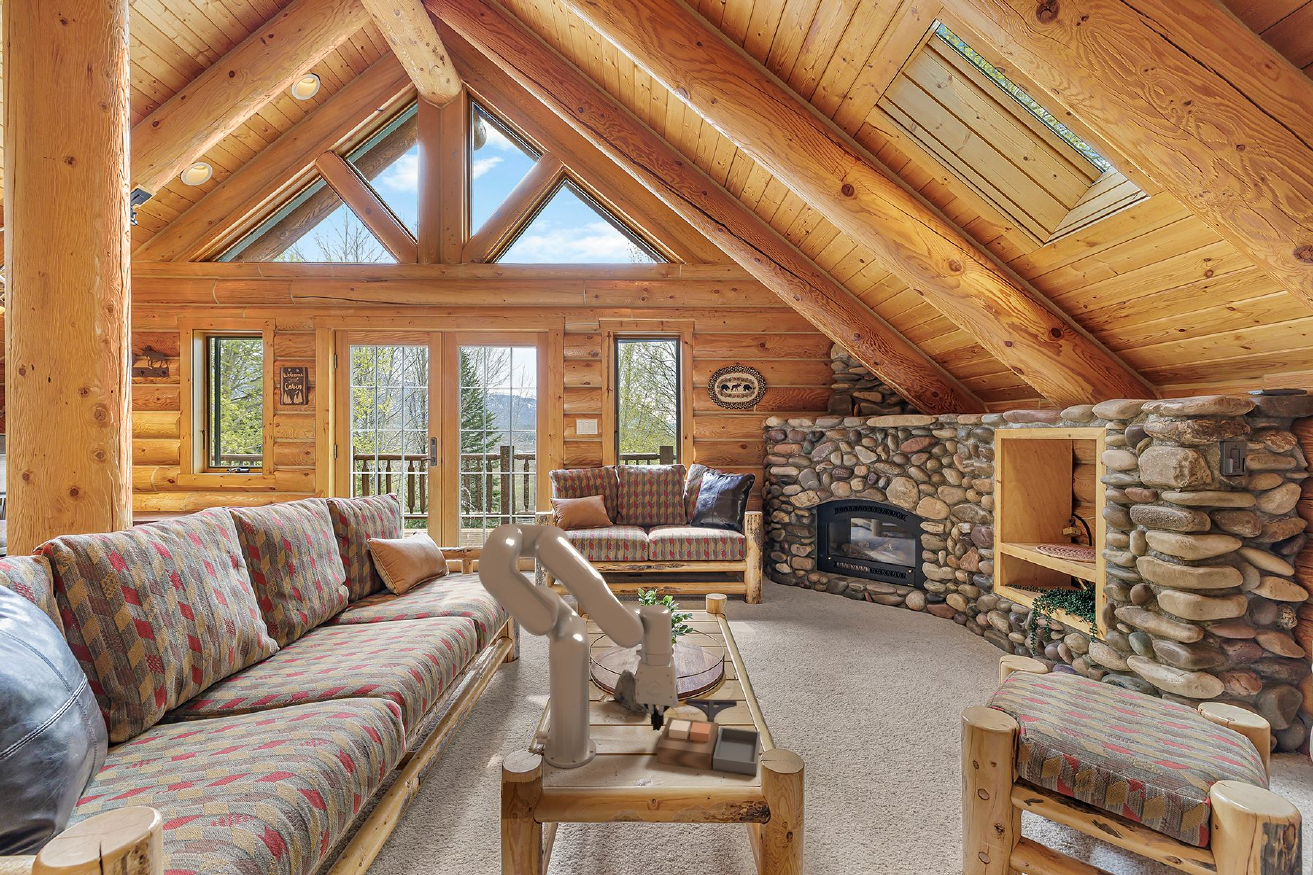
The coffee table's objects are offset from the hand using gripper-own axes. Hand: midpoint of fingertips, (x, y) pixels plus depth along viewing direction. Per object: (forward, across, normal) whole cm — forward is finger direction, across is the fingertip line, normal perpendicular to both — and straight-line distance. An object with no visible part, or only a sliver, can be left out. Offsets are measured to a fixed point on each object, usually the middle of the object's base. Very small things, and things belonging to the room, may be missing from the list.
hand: (657, 727), depth 152 cm
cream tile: (+1, +6, 0) cm, 6 cm away
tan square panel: (+5, +8, 0) cm, 9 cm away
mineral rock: (+5, -11, +17) cm, 21 cm away
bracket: (+6, +11, +18) cm, 22 cm away
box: (+5, +20, 0) cm, 20 cm away
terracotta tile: (+1, +11, 0) cm, 11 cm away
